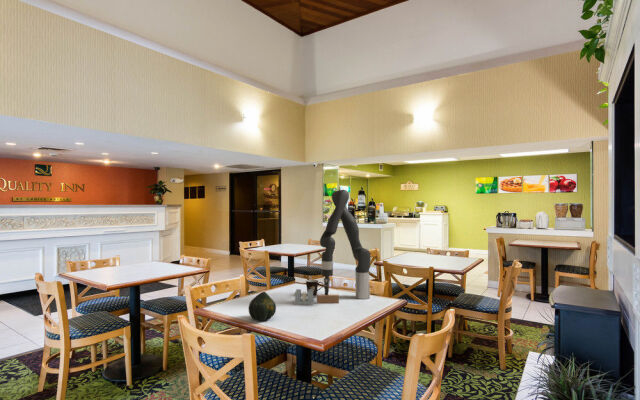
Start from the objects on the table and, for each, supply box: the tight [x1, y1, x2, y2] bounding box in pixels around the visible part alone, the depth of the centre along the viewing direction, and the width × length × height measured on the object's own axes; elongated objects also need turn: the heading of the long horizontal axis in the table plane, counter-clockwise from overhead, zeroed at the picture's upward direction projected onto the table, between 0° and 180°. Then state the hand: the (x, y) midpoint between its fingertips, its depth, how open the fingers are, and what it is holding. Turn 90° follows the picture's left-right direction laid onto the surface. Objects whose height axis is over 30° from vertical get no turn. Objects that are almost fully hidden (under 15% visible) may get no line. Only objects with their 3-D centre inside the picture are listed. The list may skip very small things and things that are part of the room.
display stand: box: [293, 288, 315, 306], centre depth 228 cm, size 12×10×8 cm
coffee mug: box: [305, 279, 324, 297], centre depth 248 cm, size 12×9×10 cm
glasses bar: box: [316, 294, 340, 305], centre depth 227 cm, size 14×3×5 cm, turn 91°
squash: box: [248, 291, 277, 322], centre depth 196 cm, size 14×15×15 cm
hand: (326, 293), depth 228 cm, fingers open, 8 cm apart
